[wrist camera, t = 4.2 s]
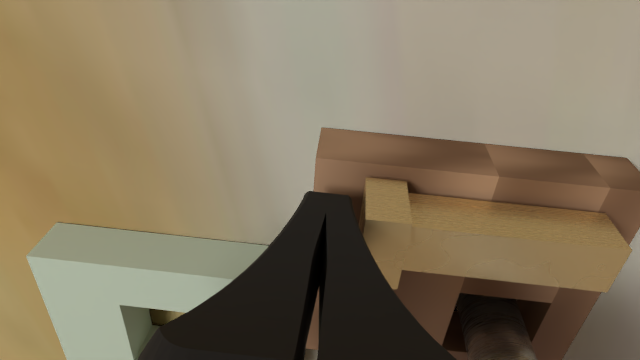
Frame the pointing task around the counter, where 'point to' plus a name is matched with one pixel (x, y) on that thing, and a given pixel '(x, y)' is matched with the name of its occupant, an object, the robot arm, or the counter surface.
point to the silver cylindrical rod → (493, 328)
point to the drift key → (488, 239)
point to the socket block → (486, 185)
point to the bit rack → (126, 283)
